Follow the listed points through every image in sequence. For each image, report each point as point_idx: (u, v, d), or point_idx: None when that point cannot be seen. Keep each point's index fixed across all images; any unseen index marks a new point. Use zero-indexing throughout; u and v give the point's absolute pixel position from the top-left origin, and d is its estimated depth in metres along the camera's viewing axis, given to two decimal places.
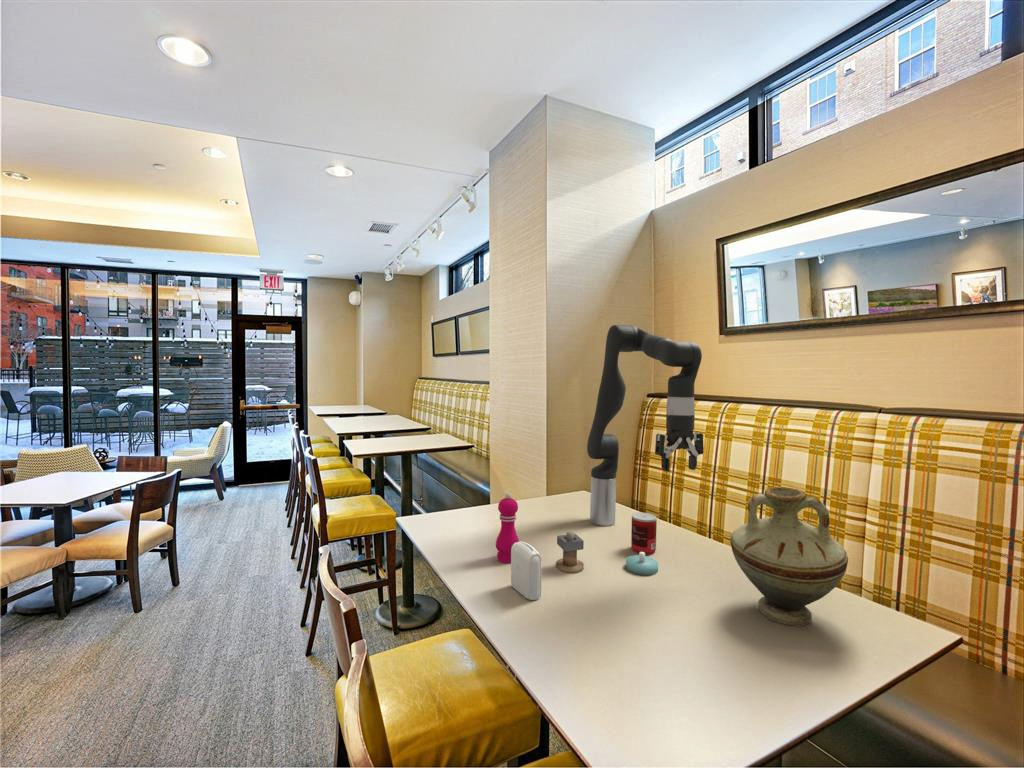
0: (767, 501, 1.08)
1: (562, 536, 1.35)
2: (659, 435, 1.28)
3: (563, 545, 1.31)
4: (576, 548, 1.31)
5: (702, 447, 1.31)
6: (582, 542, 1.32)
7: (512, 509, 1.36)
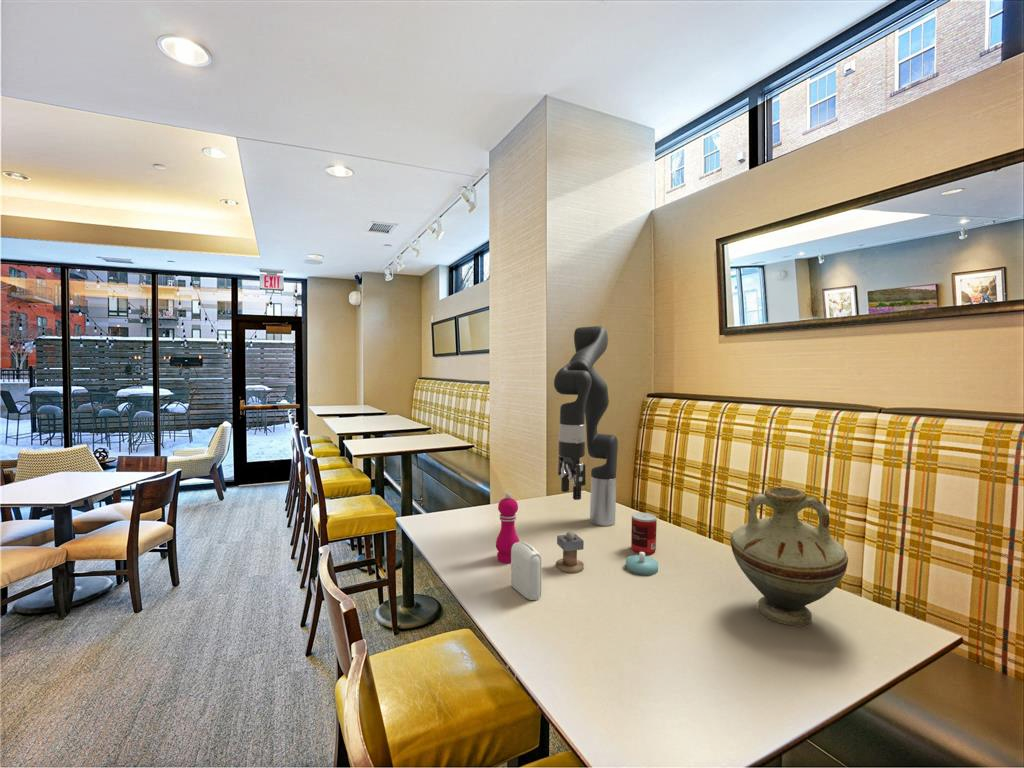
0: (767, 501, 1.08)
1: (562, 536, 1.35)
2: (581, 465, 1.27)
3: (563, 545, 1.31)
4: (576, 548, 1.31)
5: None
6: (582, 542, 1.32)
7: (512, 509, 1.36)
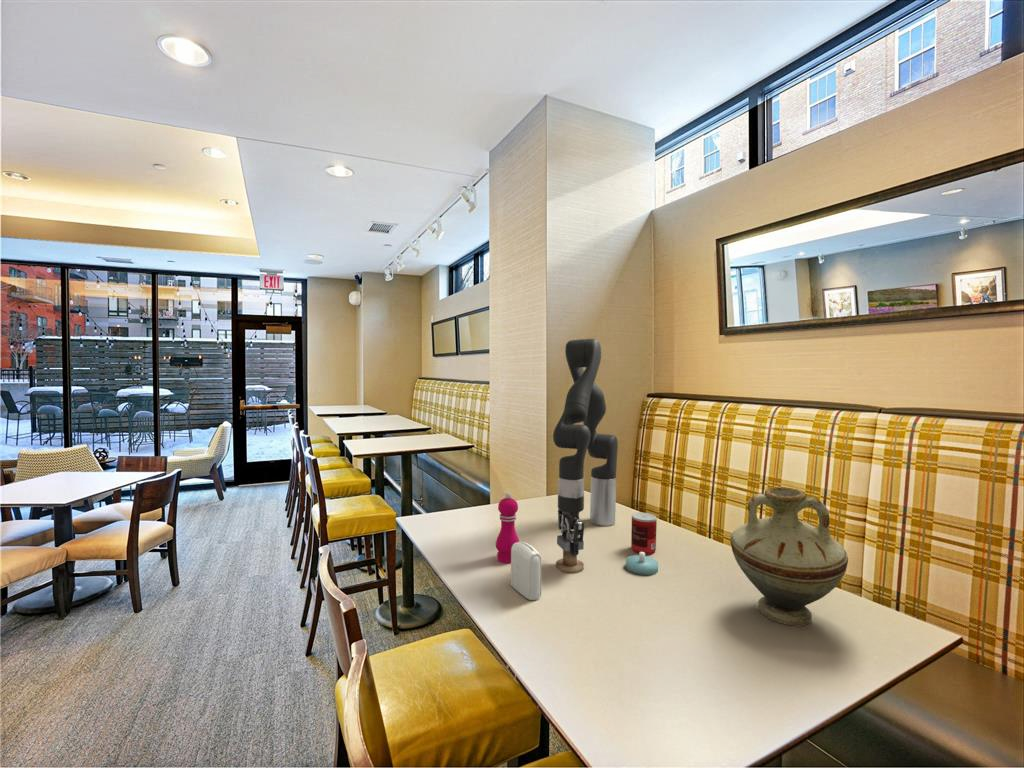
0: (767, 501, 1.08)
1: (562, 536, 1.35)
2: (580, 524, 1.27)
3: (563, 545, 1.31)
4: None
5: None
6: (582, 542, 1.32)
7: (512, 509, 1.36)
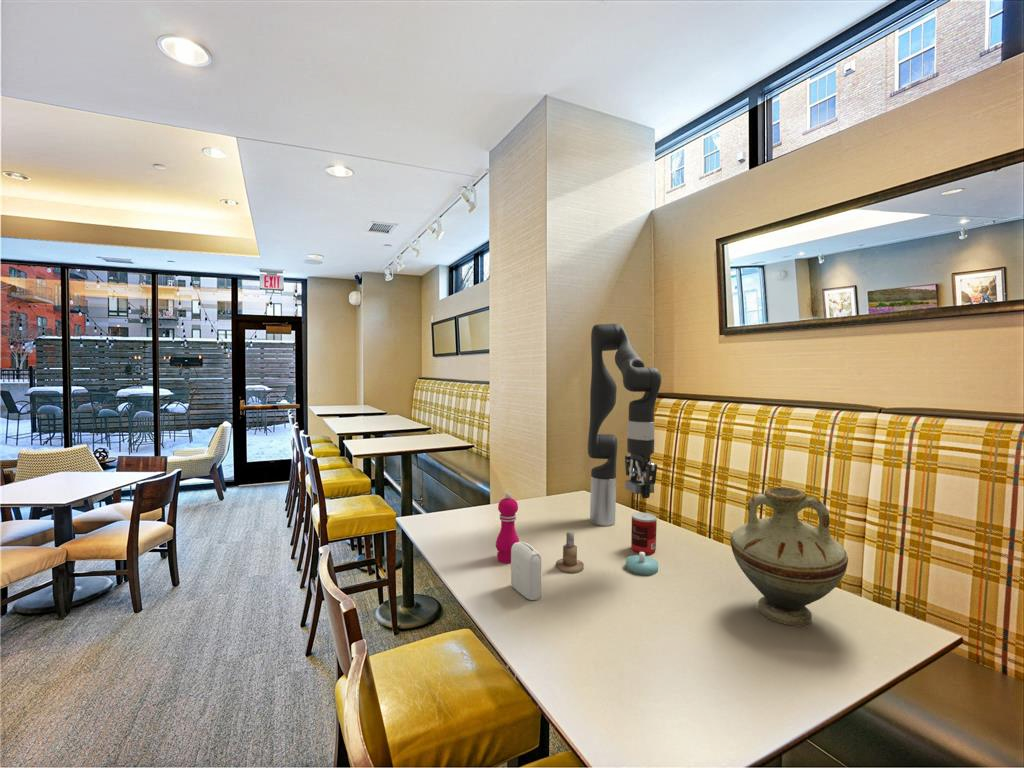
0: (767, 501, 1.08)
1: (631, 481, 1.34)
2: (653, 465, 1.27)
3: (634, 488, 1.30)
4: None
5: None
6: (653, 485, 1.31)
7: (512, 509, 1.36)
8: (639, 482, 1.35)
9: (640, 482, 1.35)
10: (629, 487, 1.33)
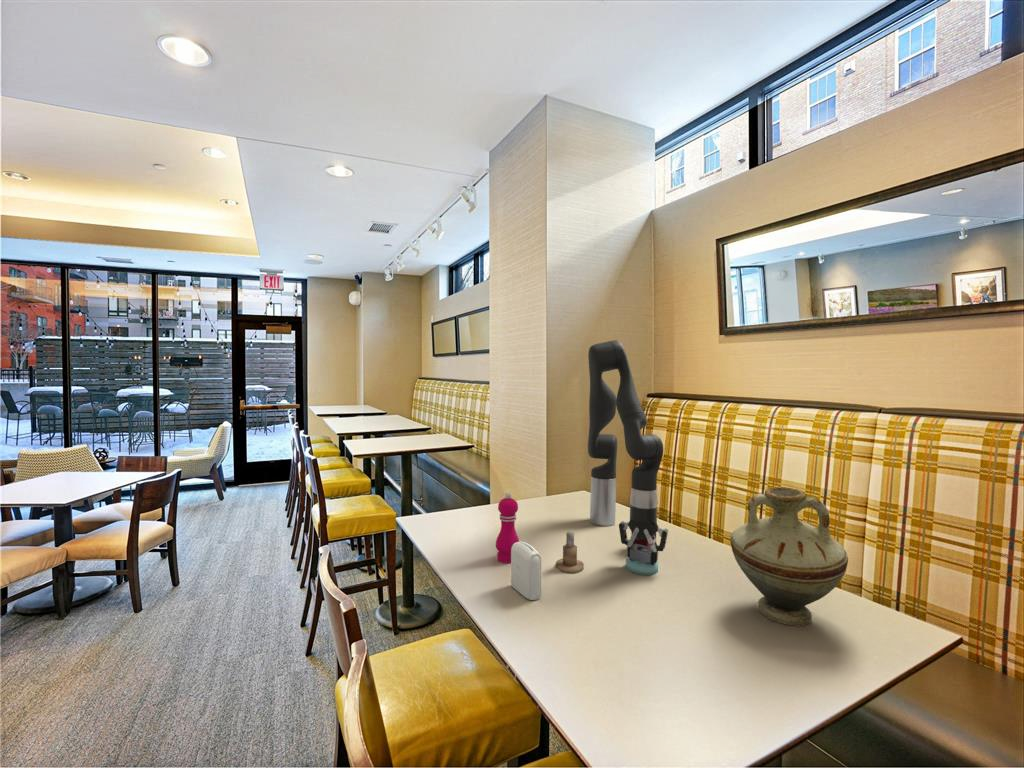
0: (767, 501, 1.08)
1: (636, 549, 1.33)
2: (667, 531, 1.31)
3: (648, 557, 1.30)
4: None
5: None
6: None
7: (512, 509, 1.36)
8: (637, 548, 1.35)
9: (638, 548, 1.36)
10: (637, 557, 1.32)
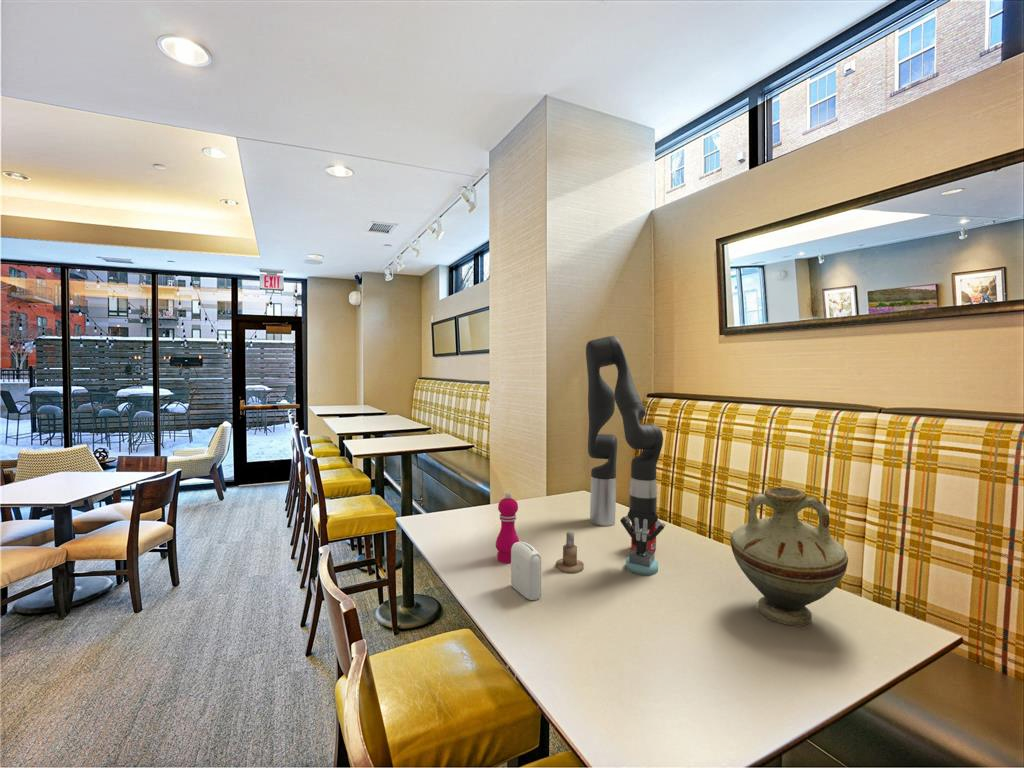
0: (767, 501, 1.08)
1: (635, 553, 1.33)
2: (664, 526, 1.31)
3: (647, 561, 1.30)
4: (652, 561, 1.33)
5: None
6: (654, 553, 1.35)
7: (512, 509, 1.36)
8: (637, 552, 1.35)
9: (637, 552, 1.36)
10: (637, 561, 1.32)
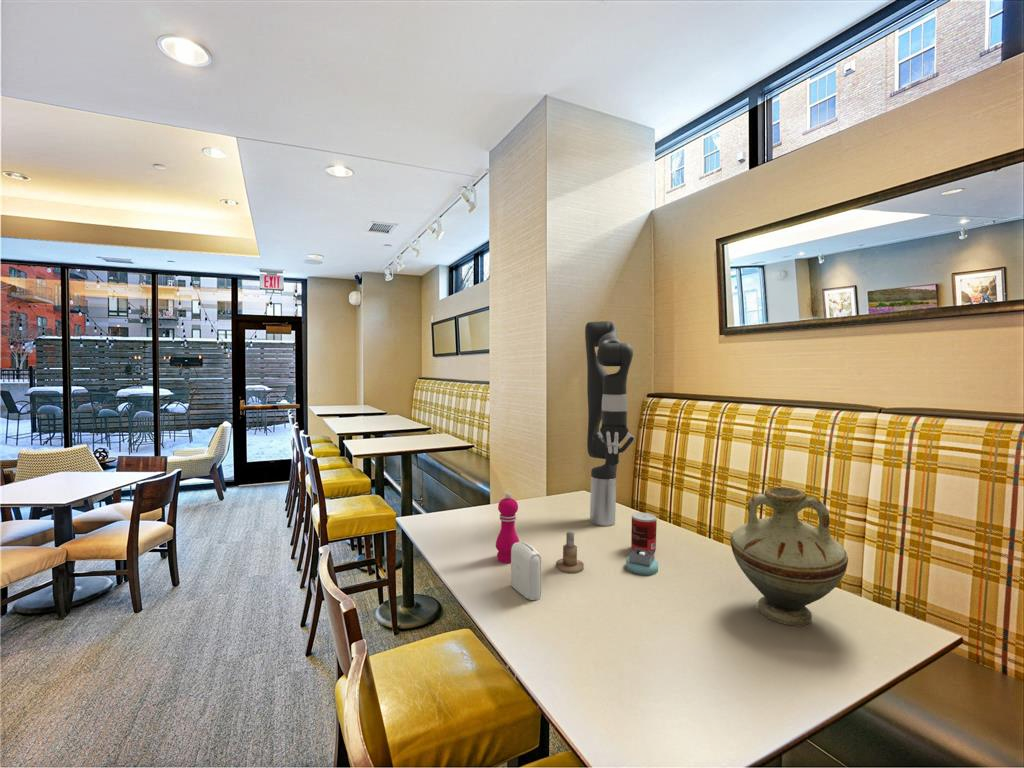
0: (767, 501, 1.08)
1: (635, 553, 1.33)
2: (634, 438, 1.38)
3: (647, 561, 1.30)
4: (652, 561, 1.33)
5: None
6: (654, 553, 1.35)
7: (512, 509, 1.36)
8: (637, 552, 1.35)
9: (637, 552, 1.36)
10: (637, 561, 1.32)
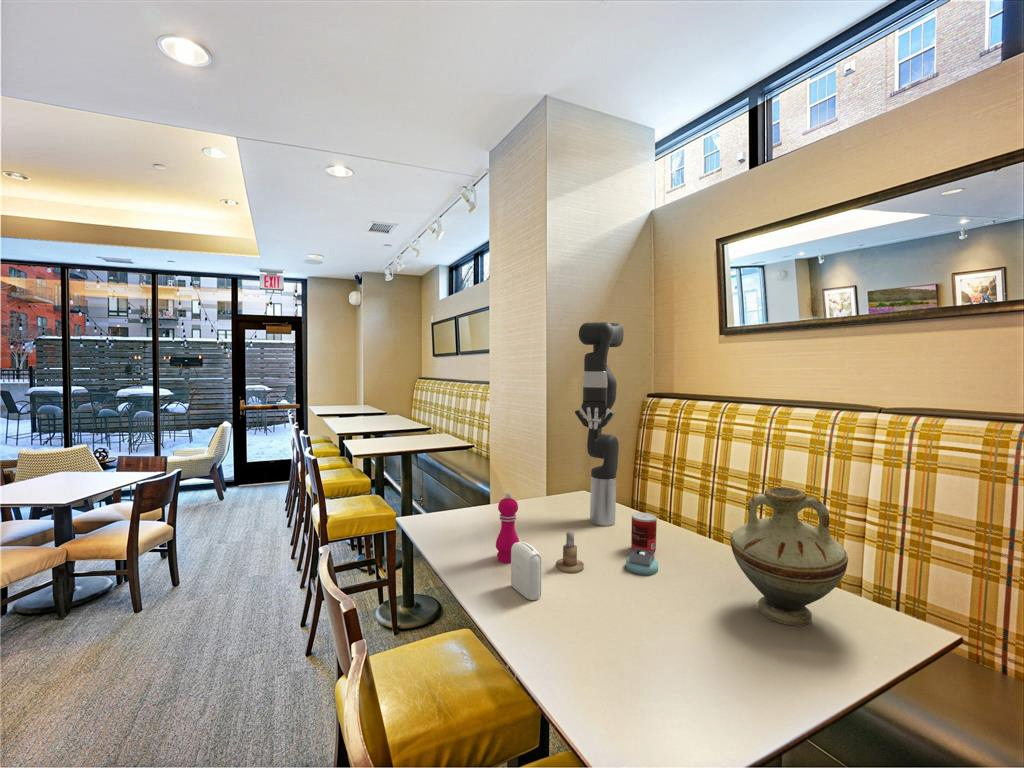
0: (767, 501, 1.08)
1: (635, 553, 1.33)
2: (613, 414, 1.43)
3: (647, 561, 1.30)
4: (652, 561, 1.33)
5: None
6: (654, 553, 1.35)
7: (512, 509, 1.36)
8: (637, 552, 1.35)
9: (637, 552, 1.36)
10: (637, 561, 1.32)
